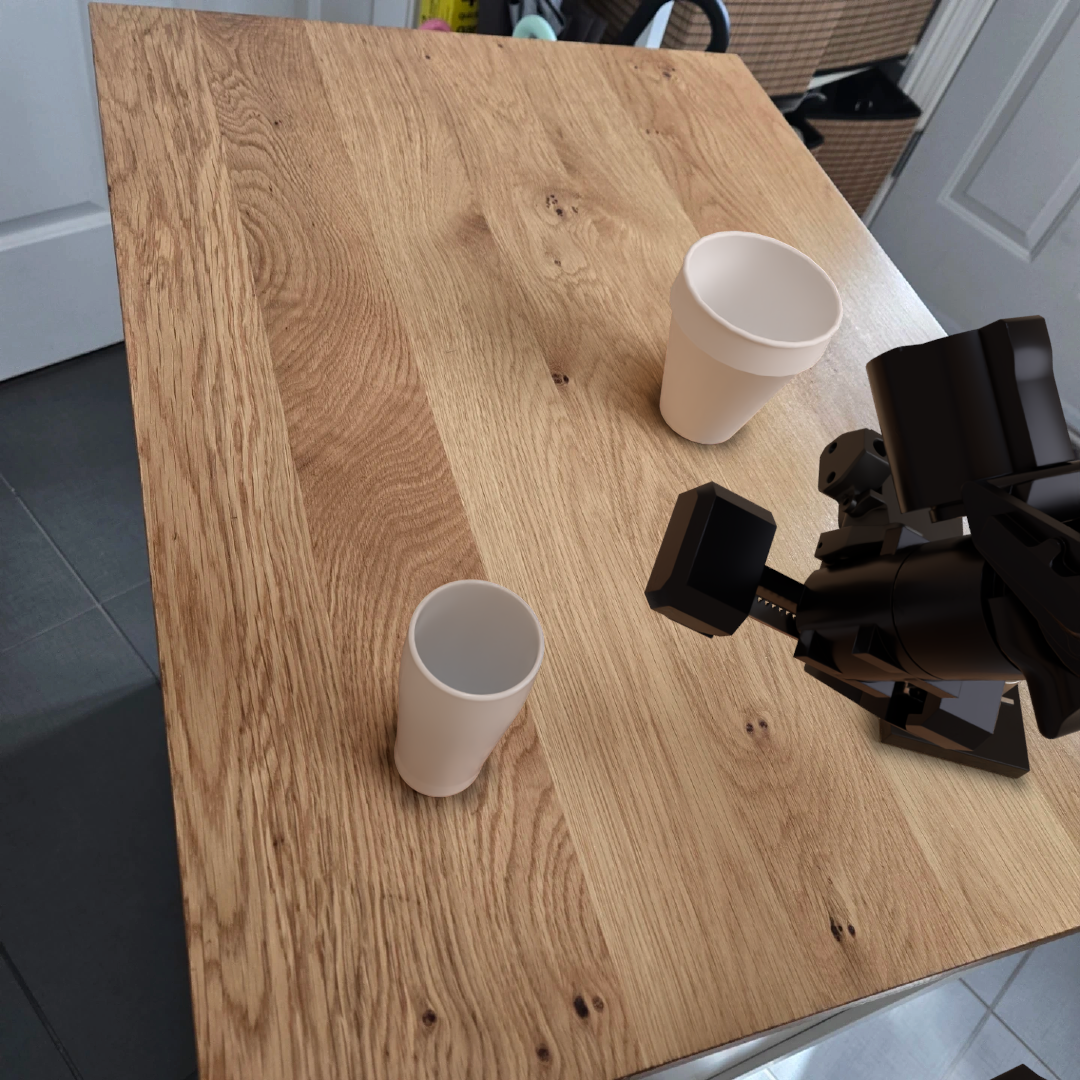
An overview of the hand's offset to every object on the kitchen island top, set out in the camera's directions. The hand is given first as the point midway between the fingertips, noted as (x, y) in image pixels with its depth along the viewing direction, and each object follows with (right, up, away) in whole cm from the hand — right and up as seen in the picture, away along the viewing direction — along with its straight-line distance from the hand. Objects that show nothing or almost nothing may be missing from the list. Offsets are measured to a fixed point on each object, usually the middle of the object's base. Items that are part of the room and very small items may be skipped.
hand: (741, 631), depth 54 cm
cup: (+2, +15, +27) cm, 31 cm away
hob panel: (+17, -6, +15) cm, 24 cm away
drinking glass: (-17, -8, +5) cm, 20 cm away
